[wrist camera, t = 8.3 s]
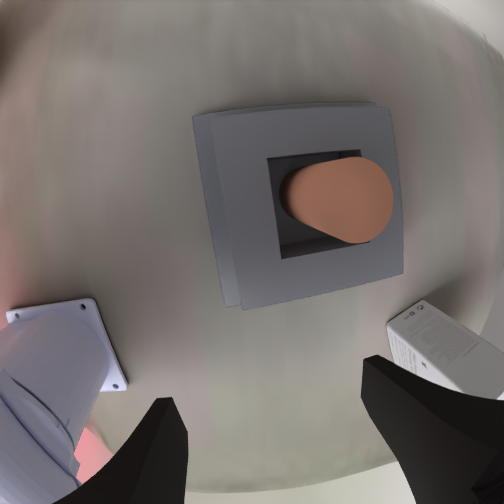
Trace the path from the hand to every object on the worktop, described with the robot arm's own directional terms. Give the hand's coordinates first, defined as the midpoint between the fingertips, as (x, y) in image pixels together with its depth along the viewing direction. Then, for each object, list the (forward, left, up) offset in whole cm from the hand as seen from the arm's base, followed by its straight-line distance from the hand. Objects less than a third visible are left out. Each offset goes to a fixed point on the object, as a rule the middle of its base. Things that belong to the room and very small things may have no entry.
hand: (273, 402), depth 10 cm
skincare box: (+14, -7, -10) cm, 19 cm away
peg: (+5, +6, -9) cm, 12 cm away
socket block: (+5, +6, -10) cm, 13 cm away
